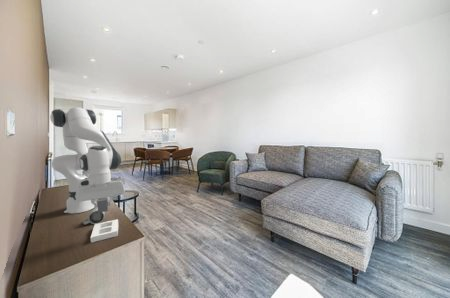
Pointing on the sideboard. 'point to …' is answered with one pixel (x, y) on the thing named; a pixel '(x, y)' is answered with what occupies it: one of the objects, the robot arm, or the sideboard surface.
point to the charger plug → (102, 204)
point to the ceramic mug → (95, 217)
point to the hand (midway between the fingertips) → (102, 206)
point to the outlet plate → (104, 230)
